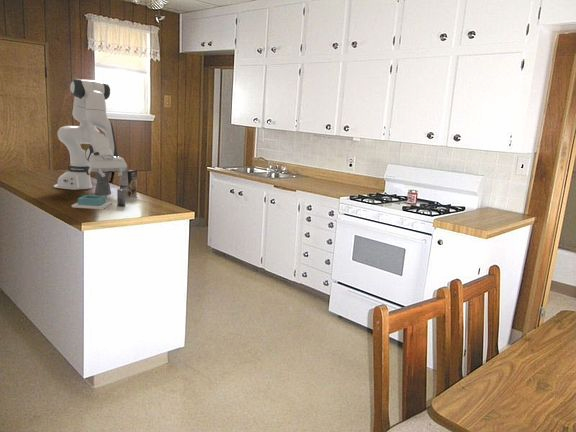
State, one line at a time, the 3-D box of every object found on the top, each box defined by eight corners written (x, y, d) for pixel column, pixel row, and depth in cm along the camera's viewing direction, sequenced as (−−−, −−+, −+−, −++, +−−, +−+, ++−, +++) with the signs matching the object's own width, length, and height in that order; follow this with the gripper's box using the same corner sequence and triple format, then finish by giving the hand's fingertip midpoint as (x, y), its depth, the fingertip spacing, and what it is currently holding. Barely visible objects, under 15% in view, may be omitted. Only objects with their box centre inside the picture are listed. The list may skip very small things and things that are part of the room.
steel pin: (116, 206, 250) (116, 190, 248) (118, 205, 254) (118, 189, 252) (123, 206, 250) (123, 190, 248) (125, 205, 254) (126, 189, 252)
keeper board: (71, 207, 240) (71, 198, 239) (82, 202, 254) (82, 193, 253) (103, 209, 241) (103, 200, 240) (111, 204, 255) (111, 195, 254)
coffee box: (129, 198, 275) (129, 171, 271) (119, 197, 276) (119, 170, 272) (137, 196, 283) (137, 170, 280) (127, 194, 285) (127, 168, 281)
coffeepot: (88, 192, 281) (88, 163, 278) (100, 191, 290) (99, 162, 286) (108, 196, 276) (108, 166, 272) (119, 194, 285) (119, 165, 281)
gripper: (121, 160, 271) (128, 179, 266) (85, 160, 257) (92, 180, 253) (124, 153, 267) (131, 172, 262) (88, 153, 253) (95, 173, 248)
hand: (112, 176), depth 257 cm, fingers open, 8 cm apart
